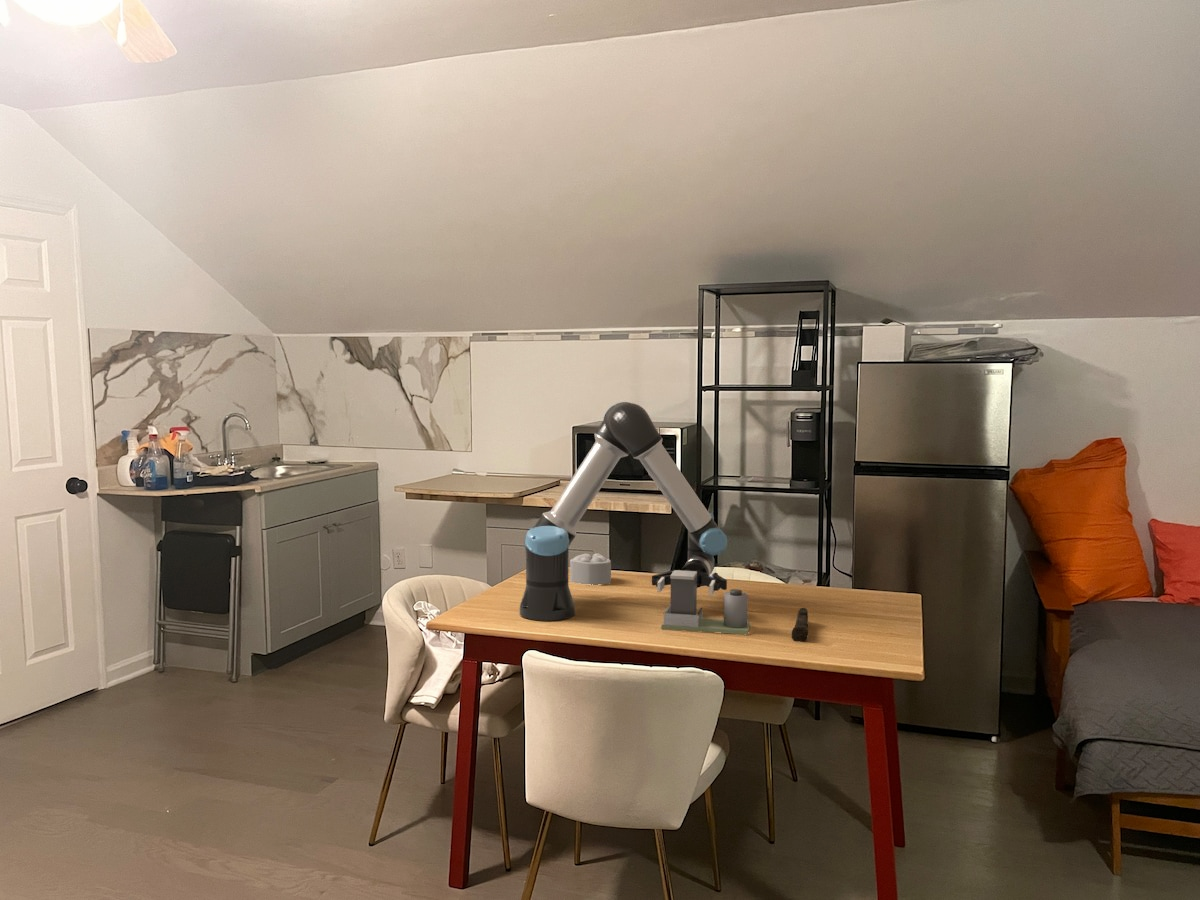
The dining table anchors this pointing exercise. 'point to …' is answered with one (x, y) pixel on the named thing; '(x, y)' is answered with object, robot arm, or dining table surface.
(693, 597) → the grey block
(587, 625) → the dining table surface
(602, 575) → the lumpy-topped squat cylinder
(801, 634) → the hand tool
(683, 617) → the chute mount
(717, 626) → the desk organizer stand
